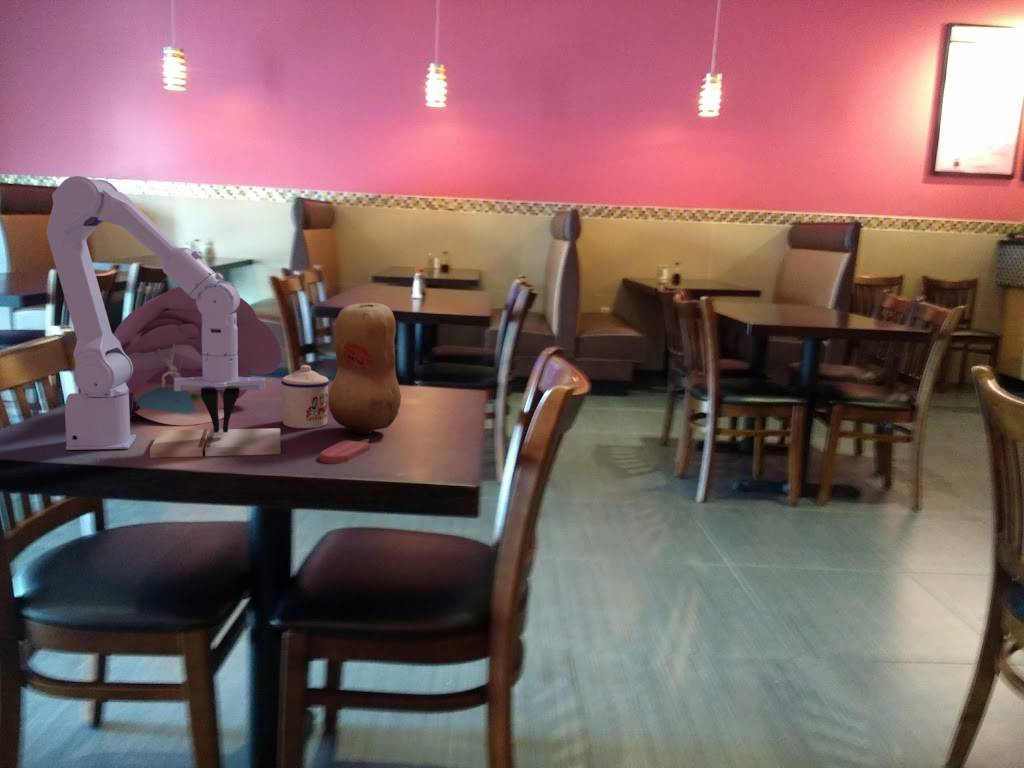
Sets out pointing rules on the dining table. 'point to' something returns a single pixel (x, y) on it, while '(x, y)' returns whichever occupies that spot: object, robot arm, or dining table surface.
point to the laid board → (179, 443)
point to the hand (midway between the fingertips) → (221, 431)
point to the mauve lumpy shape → (184, 356)
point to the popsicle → (344, 451)
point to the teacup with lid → (305, 399)
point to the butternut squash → (365, 369)
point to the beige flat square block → (243, 442)
